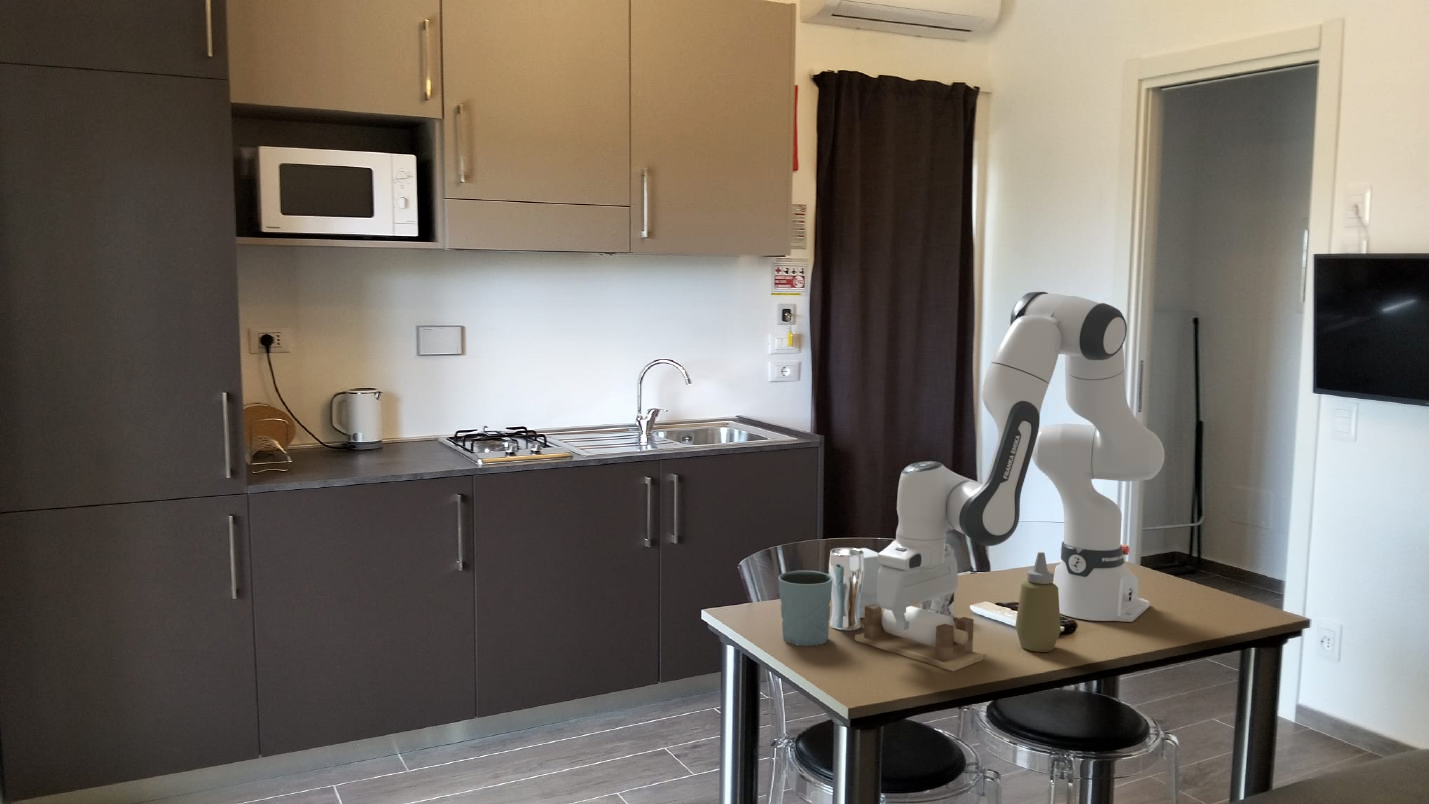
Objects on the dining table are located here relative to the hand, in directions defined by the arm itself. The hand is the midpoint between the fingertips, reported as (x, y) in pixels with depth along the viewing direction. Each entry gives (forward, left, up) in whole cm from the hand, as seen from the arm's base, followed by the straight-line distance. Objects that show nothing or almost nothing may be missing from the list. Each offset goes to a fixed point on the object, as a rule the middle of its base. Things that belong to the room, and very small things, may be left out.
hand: (918, 624), depth 194 cm
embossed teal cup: (+11, -18, -5) cm, 22 cm away
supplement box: (-10, -22, -5) cm, 25 cm away
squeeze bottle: (-18, +14, -5) cm, 23 cm away
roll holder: (0, 0, -5) cm, 5 cm away
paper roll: (0, 0, -3) cm, 3 cm away
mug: (-21, -11, -5) cm, 24 cm away
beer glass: (-1, -18, -5) cm, 19 cm away
